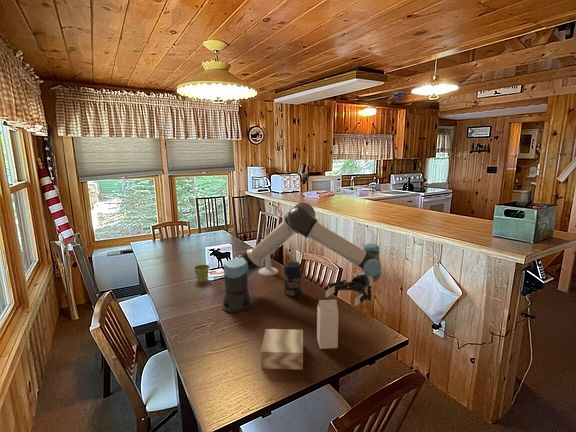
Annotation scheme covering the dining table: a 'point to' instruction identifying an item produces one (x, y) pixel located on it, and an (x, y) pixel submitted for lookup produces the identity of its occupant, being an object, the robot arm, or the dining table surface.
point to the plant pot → (201, 272)
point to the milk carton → (327, 324)
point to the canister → (292, 278)
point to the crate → (282, 349)
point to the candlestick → (268, 264)
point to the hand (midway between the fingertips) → (340, 298)
